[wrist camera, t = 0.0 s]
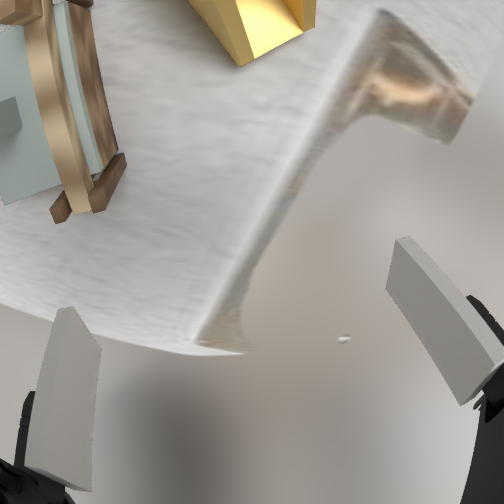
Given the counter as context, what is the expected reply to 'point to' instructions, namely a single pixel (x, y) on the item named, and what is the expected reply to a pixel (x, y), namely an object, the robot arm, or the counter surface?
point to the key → (52, 95)
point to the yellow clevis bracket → (255, 23)
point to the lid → (36, 115)
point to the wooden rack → (92, 114)
